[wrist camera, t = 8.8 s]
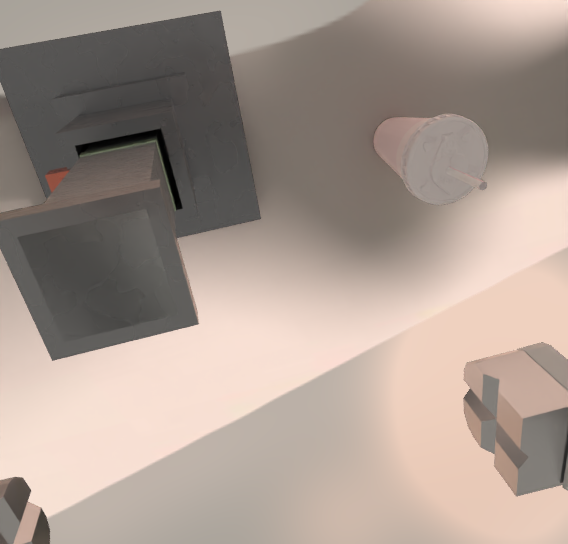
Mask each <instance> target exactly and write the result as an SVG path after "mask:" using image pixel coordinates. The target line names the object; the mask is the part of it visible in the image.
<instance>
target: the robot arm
mask: <svg viewBox="0 0 568 544" xmlns="http://www.w3.org/2000/svg"><path fill="white" fill-rule="evenodd" d="M464 381H465V382H466V383H467V384H468V386H469V387H470V389H469V391H468V392H467V394H466V395H465V397H464V414H465V417H466V421H467V424H468V427H469V429H470V431H471V433H472V435H473V437H474V438H475V440H476V441H477V443H478V444H479V445H480V447H481V448H483V449H485V450H487V451H489V452H492V453H493V454H495V461H494V466H495V468H496V469H497V471H498V472H499V473H500V475H501V476H502V477H503V479H504V480H505V482H506V483H507V484H508V486H509V487H510V488H511V490H512V491H513V493H514V494H515V495H516V496H520V495H524V494H528V493H532V492H536V491H540V490H544V489H548V488H552V487H556V486H560V485H563V488H564V489H566V490H568V360H567V359H566V358H565V357H564V356H563V355H561V354H560V353H559V352H558V351H557V350H555V349H554V348H553V347H552V346H551V345H549V344H546V343H543V342H541V343H537V344H534V345H530V346H526V347H523V348H519V349H517V350H513V351H509V352H505V353H501V354H498V355H494V356H490V357H486V358H482V359H479V360H475V361H471V362H467V363H466V365H465V368H464ZM30 493H31V489H30V488H29V486H28V485H27V483H26V482H25V480H24V479H23V478H21V477H12V478H8V479H4V480H0V544H50V528H49V524H48V521H47V517H46V515H45V514H44V512H43V510H42V508H41V507H39V506H36V505H34V504H32V503H30V502H28V499H29V496H30Z"/></svg>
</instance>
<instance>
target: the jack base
mask: <svg viewBox="0 0 568 544" xmlns="http://www.w3.org/2000/svg"><path fill="white" fill-rule="evenodd" d="M0 82H1V85H2V87H3V90H4V92H5V95H6V97H7V100H8V102H9V105H10V107H11V110H12V112H13V115H14V117H15V120H16V122H17V125H18V127H19V130H20V133H21V135H22V138H23V140H24V143H25V145H26V148H27V150H28V153H29V155H30V158H31V160H32V163H33V165H34V168H35V170H36V173H37V175H38V178H39V180H40V183H41V185H42V188H43V191H44V193H45V196H46V198H48V197H49V196H50V195H51V193H52V192H53V191H54V190H55V188H56V187H57V186H58V185H59V183H60V182H61V181H62V179H63V178H64V177H65V176H66V174H67V173H68V172H69V171H70V169H71V168H72V167H73V165H74V164H75V163H76V162H77V160H78V159H79V158H80V156H79V155H80V154H81V153H82V152H84V151H85V150H86V149H87V148H88V146H89V145H90V144H91V143H92V142H96V141H101V140H106V139H111V138H116V137H121V136H126V135H131V134H136V133H141V132H146V131H151V130H156V129H159V131H160V134H161V138H162V142H163V145H164V149H165V153H166V156H167V160H168V164H169V168H170V171H171V175H172V179H173V182H174V197H175V206H176V211H175V229H176V237H177V238H179V237H183V236H188V235H192V234H197V233H201V232H205V231H210V230H214V229H219V228H223V227H227V226H232V225H236V224H241V223H245V222H249V221H254V220H258V219H261V217H260V212H259V207H258V202H257V196H256V191H255V186H254V181H253V176H252V171H251V165H250V160H249V155H248V150H247V145H246V140H245V134H244V129H243V124H242V119H241V114H240V109H239V103H238V98H237V93H236V88H235V83H234V78H233V72H232V67H231V62H230V57H229V52H228V47H227V41H226V36H225V31H224V26H223V21H222V16H221V11H216V12H210V13H204V14H198V15H193V16H187V17H182V18H176V19H170V20H164V21H158V22H153V23H147V24H142V25H135V26H130V27H124V28H118V29H113V30H107V31H101V32H96V33H90V34H84V35H78V36H73V37H67V38H61V39H55V40H49V41H44V42H38V43H32V44H27V45H21V46H15V47H9V48H4V49H0Z"/></svg>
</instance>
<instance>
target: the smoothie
mask: <svg viewBox="0 0 568 544" xmlns="http://www.w3.org/2000/svg"><path fill="white" fill-rule="evenodd" d="M373 144H374V148H375V151H376V152H377V154H378V155H379V156H380V157H381V158H382V159H383V160H384V161H385V162H386V163H387V164H388V165H389V166H390V167H391V168H392V169H393V170H394V171H395V172H396V173H397V174H398V175H399V176H400V177H401V178H402V179H403V182H404V184H405V186H406V188H407V190H408V191H409V192H410V193H411V194H412V195H413V196H414V197H416V198H418V199H420V200H422V201H424V202H426V203H429V204H433V205H445V204H450V203H453V202H456V201H458V200H460V199H461V198H463V197H464V196H466V195H467V194H468V193H469V192H471V191H472V190H473V189H474V187H476V188H478V189H480V190H484V189H486V187H487V183H486V182H485V181H482V180H480V179H481V177H482V175H483V173H484V171H485V168H486V165H487V161H488V143H487V139H486V137H485V134H484V132H483V131H482V129H481V128H480V127H479V126H478V125H477V124H476V123H475V122H473V121H472V120H470V119H468V118H465V117H463V116H461V115H456V114H441V115H438V116H435V117H433V118H412V117H392V118H389V119H387V120H385V121H383V122H382V123H381V124H380V125H379V126H378V128H377V129H376V131H375V134H374V139H373Z"/></svg>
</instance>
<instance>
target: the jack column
mask: <svg viewBox="0 0 568 544" xmlns="http://www.w3.org/2000/svg"><path fill="white" fill-rule="evenodd" d="M79 156H80V158H79V159H78V160H77V162H76V163H75V164H74V165H73V167H72V168H71V169H70V171H69V172H68V173H67V174H66V176H65V177H64V178H63V179H62V181H61V182H60V183H59V185H58V186H57V187H56V188H55V190H54V191H53V192H52V193H51V195H50V196H49V197H48V198H47V200H46V201H45V202H44V204H40V205H36V206H31V207H26V208H21V209H17V210H12V211H7V212H3V213H0V249H1V251H2V253H3V255H4V257H5V260H6V262H7V264H8V266H9V268H10V270H11V272H12V275H13V277H14V279H15V281H16V283H17V285H18V288H19V290H20V292H21V294H22V296H23V298H24V301H25V303H26V305H27V307H28V309H29V311H30V313H31V316H32V318H33V320H34V322H35V324H36V326H37V329H38V331H39V333H40V335H41V337H42V339H43V342H44V344H45V346H46V348H47V350H48V352H49V354H50V357H51V359H52V361H53V360H57V359H61V358H65V357H69V356H73V355H77V354H81V353H85V352H89V351H93V350H97V349H101V348H105V347H109V346H113V345H117V344H121V343H125V342H129V341H133V340H137V339H141V338H145V337H149V336H153V335H157V334H162V333H166V332H170V331H174V330H178V329H182V328H186V327H190V326H194V325H198V324H199V322H198V312H197V308H196V304H195V301H194V297H193V294H192V290H191V286H190V283H189V279H188V276H187V272H186V269H185V265H184V262H183V258H182V255H181V251H180V247H179V244H178V240H177V237H176V229H175V211H176V206H175V197H174V182H173V179H172V175H171V171H170V168H169V164H168V160H167V156H166V153H165V149H164V145H163V142H162V138H161V134H160V131H159V129H156V130H151V131H146V132H141V133H136V134H131V135H126V136H121V137H116V138H111V139H106V140H101V141H96V142H92V143H91V144H90V145H89V146H88V148H87V149H86V150H85V151H84V152H82V153H81V154H80V155H79Z"/></svg>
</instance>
